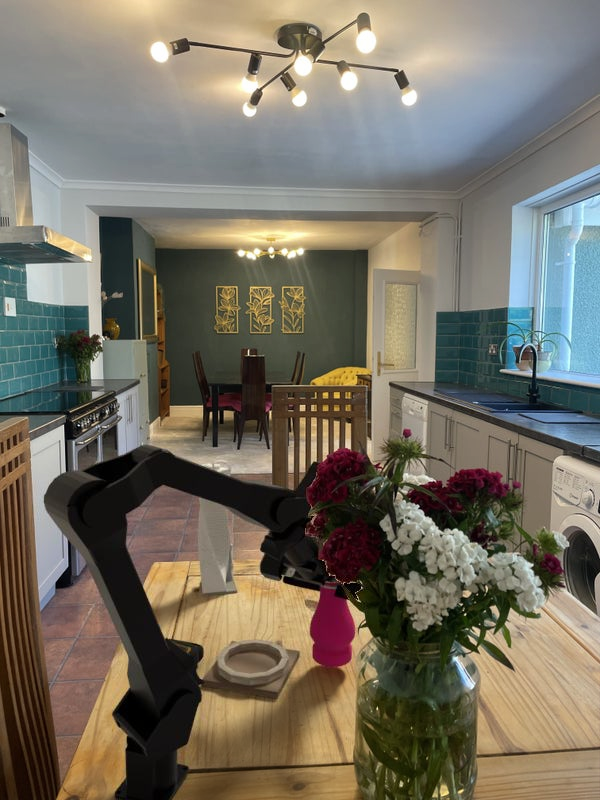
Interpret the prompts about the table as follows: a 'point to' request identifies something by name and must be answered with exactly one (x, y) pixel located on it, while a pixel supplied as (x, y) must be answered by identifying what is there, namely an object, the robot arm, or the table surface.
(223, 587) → the skyscraper
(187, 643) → the tape measure
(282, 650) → the stand
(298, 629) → the table surface
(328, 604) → the pepper mill
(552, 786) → the table surface
